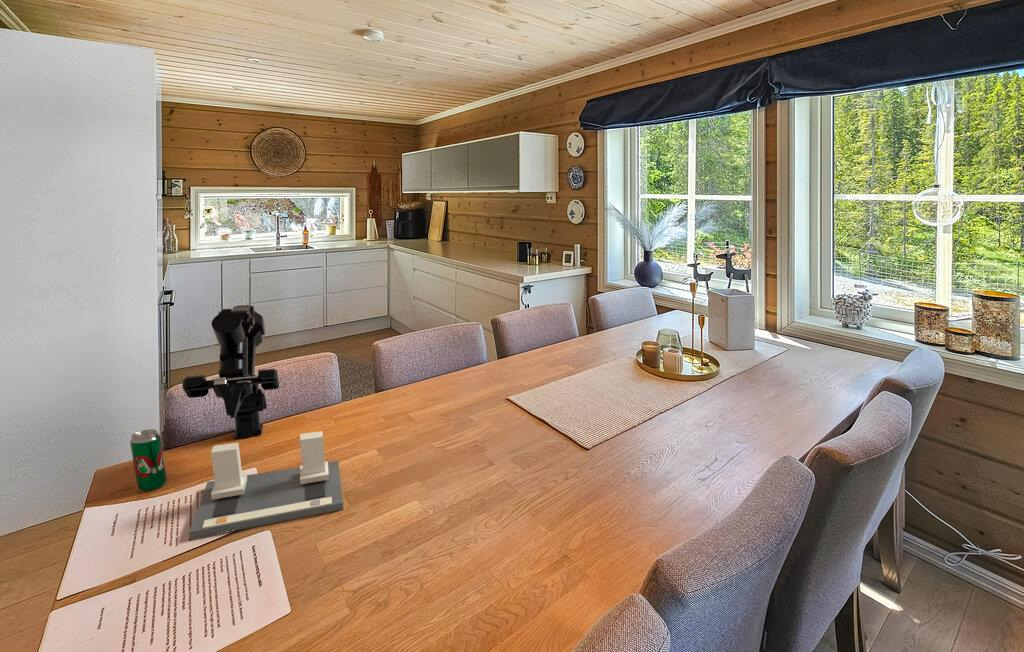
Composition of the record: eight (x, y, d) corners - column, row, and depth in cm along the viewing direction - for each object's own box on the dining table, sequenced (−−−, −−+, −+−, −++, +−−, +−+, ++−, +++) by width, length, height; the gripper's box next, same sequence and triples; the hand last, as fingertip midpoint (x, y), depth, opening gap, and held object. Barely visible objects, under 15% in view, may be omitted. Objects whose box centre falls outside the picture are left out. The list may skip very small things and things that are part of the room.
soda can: (159, 477, 108) (151, 426, 105) (172, 483, 106) (164, 431, 103) (133, 488, 104) (123, 435, 101) (146, 495, 101) (137, 441, 99)
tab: (300, 470, 108) (297, 431, 106) (328, 466, 110) (325, 427, 108) (300, 484, 102) (296, 443, 100) (329, 479, 104) (326, 439, 102)
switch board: (208, 488, 104) (207, 480, 104) (338, 466, 114) (337, 459, 113) (190, 539, 88) (188, 530, 88) (343, 509, 98) (342, 501, 97)
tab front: (216, 484, 102) (211, 443, 100) (247, 479, 104) (242, 439, 102) (211, 499, 97) (205, 456, 94) (243, 494, 99) (238, 451, 97)
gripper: (280, 368, 126) (282, 425, 119) (195, 376, 119) (191, 437, 112) (276, 346, 118) (277, 406, 110) (184, 353, 111) (179, 417, 103)
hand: (232, 417), depth 109 cm, fingers closed
